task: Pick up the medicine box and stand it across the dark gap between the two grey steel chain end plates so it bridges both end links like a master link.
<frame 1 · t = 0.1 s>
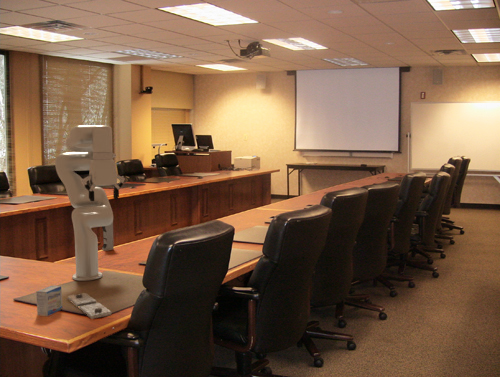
hand: (104, 200, 205), 37 cm above the table, tool pointing down, fingers open, 9 cm apart
vintage mobile phone: (107, 250, 285), on the table
medicine box: (50, 313, 182), on the table
chain ends: (88, 306, 188), on the table
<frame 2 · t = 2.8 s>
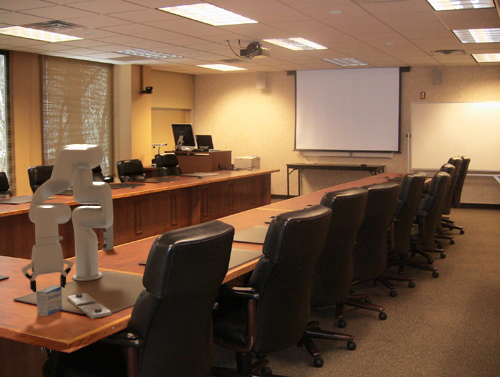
hand: (48, 289, 181), 9 cm above the table, tool pointing down, fingers open, 9 cm apart
medicine box: (49, 313, 182), on the table, touching gripper
everything else where it was.
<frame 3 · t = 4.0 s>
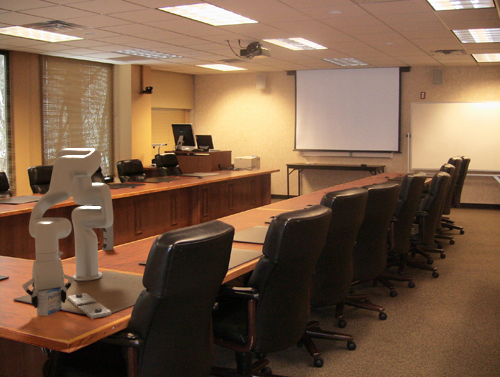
hand: (49, 304, 182), 3 cm above the table, tool pointing down, fingers closed on medicine box, 9 cm apart
medicine box: (49, 312, 182), on the table, touching gripper
everything else where it was.
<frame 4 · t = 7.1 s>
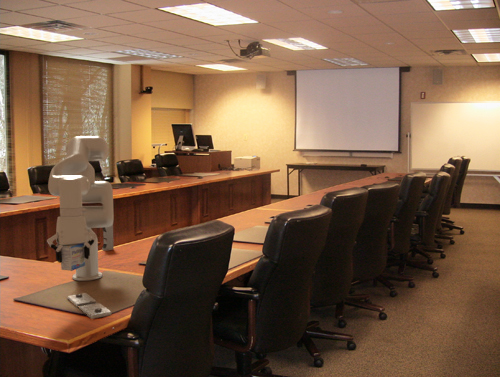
hand: (73, 260, 185), 18 cm above the table, tool pointing down, fingers closed on medicine box, 9 cm apart
medicine box: (73, 268, 185), point 15 cm above the table, touching gripper
everything else where it was.
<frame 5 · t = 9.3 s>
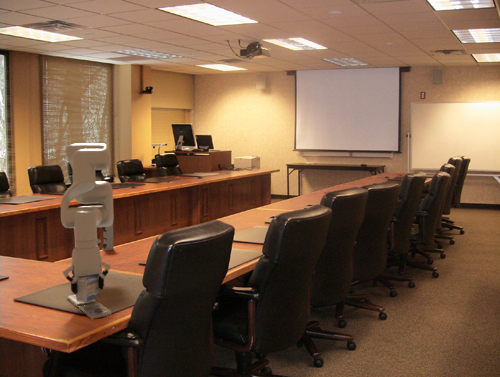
hand: (87, 290, 188), 6 cm above the table, tool pointing down, fingers closed on medicine box, 9 cm apart
medicine box: (88, 299, 188), point 3 cm above the table, touching gripper
everything else where it was.
when the fingers open (5 cm above the table, at t = 10.5 s): medicine box stays where it is, resting on chain ends.
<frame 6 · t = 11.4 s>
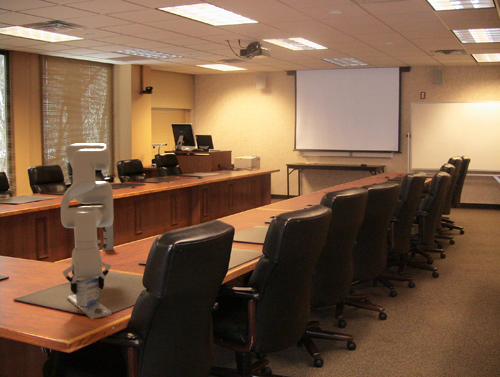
hand: (87, 290, 188), 6 cm above the table, tool pointing down, fingers open, 9 cm apart
medicine box: (87, 303, 188), point 1 cm above the table, touching chain ends, gripper
everything else where it was.
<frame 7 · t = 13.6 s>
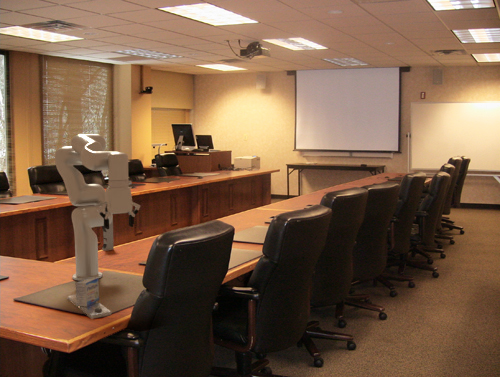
hand: (119, 227, 203), 26 cm above the table, tool pointing down, fingers open, 9 cm apart
medicine box: (87, 303, 188), point 1 cm above the table, touching chain ends
everything else where it was.
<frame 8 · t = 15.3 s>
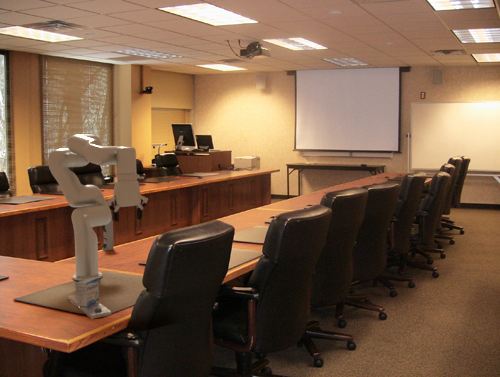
hand: (128, 220, 207), 28 cm above the table, tool pointing down, fingers open, 9 cm apart
nothing on the table moved.
at the end: medicine box 0.3 cm off-centre on the chain ends, point 1.0 cm above the chain ends's base; medicine box tilted 0°; the gripper is holding nothing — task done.
